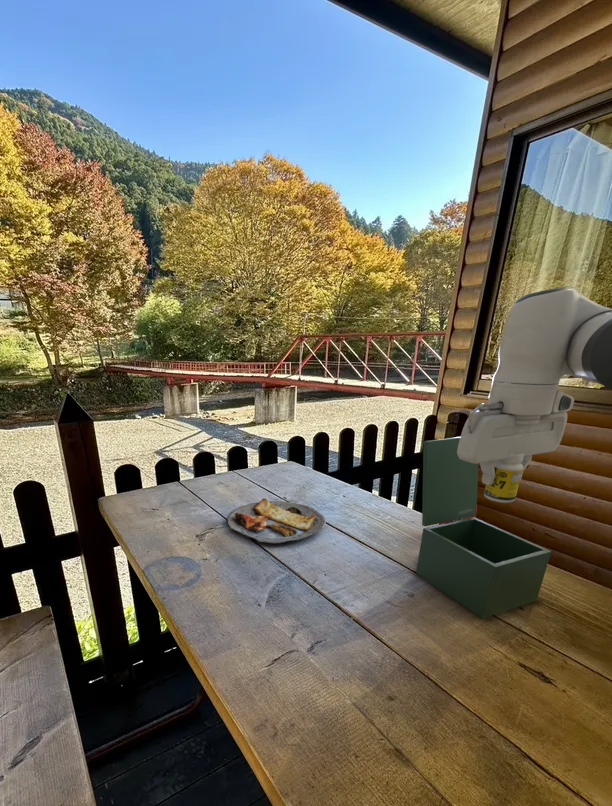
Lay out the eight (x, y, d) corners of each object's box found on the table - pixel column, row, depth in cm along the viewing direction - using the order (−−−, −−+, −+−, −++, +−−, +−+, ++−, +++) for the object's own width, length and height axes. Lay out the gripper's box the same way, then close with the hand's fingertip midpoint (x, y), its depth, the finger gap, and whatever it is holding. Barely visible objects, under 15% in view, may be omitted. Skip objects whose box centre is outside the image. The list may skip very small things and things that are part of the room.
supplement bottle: (477, 495, 73) (487, 449, 70) (496, 491, 74) (506, 447, 71) (501, 505, 69) (513, 456, 66) (521, 501, 70) (533, 453, 67)
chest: (536, 603, 75) (551, 551, 71) (482, 621, 70) (495, 567, 66) (464, 562, 89) (474, 517, 85) (415, 575, 84) (423, 528, 80)
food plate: (209, 524, 107) (209, 512, 106) (270, 501, 122) (270, 490, 121) (282, 559, 90) (282, 545, 89) (341, 527, 105) (342, 514, 104)
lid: (479, 434, 81) (476, 434, 82) (426, 441, 76) (423, 441, 77) (476, 515, 84) (472, 514, 85) (425, 526, 79) (421, 525, 80)
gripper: (491, 407, 59) (473, 496, 64) (581, 399, 66) (558, 479, 71) (455, 401, 65) (441, 483, 70) (542, 394, 72) (523, 469, 77)
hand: (501, 481), depth 71 cm, fingers closed on supplement bottle, 4 cm apart
